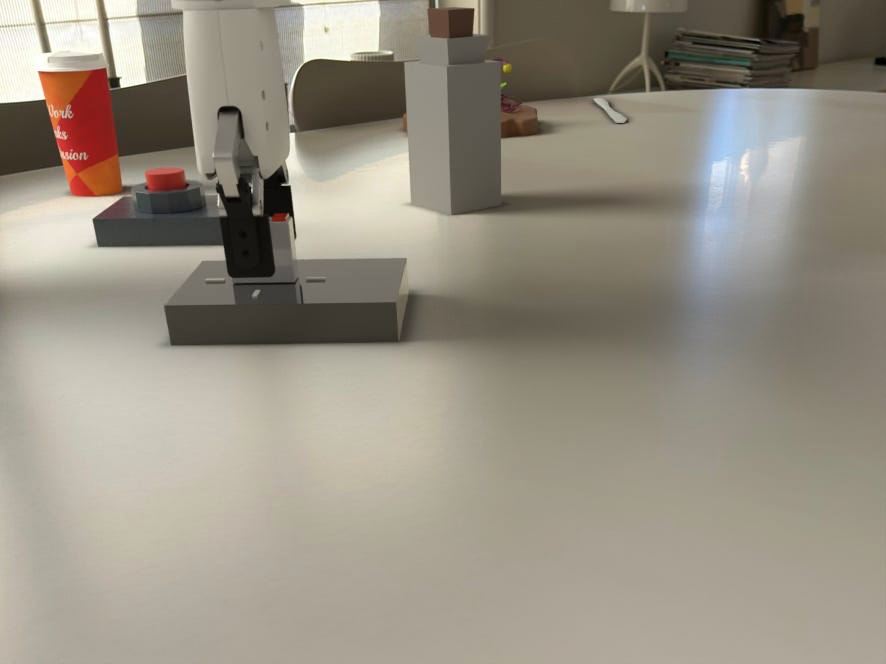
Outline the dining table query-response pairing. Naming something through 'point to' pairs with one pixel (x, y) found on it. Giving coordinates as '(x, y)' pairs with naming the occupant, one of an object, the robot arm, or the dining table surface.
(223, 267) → the dark grey base block
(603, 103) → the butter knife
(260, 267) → the robot arm
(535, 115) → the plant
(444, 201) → the perfume bottle
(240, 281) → the white block red tab
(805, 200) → the dining table surface
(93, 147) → the paper cup
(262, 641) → the dining table surface
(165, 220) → the switch block
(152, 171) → the power button
